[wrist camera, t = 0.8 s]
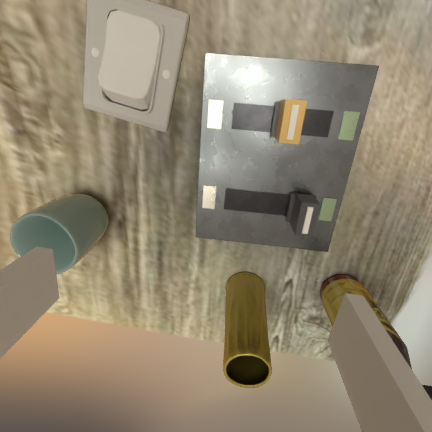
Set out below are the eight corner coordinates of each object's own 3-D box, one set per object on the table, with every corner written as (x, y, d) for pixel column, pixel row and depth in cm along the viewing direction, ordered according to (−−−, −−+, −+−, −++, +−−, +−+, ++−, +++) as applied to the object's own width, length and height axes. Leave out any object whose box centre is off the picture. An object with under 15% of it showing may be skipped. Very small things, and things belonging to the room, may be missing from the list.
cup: (126, 219, 39) (91, 253, 29) (91, 245, 41) (48, 285, 32) (88, 176, 37) (37, 199, 27) (53, 206, 39) (-5, 237, 30)
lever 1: (275, 99, 29) (280, 98, 25) (303, 102, 29) (313, 101, 25) (269, 138, 30) (274, 142, 26) (296, 140, 30) (304, 145, 26)
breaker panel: (207, 56, 30) (205, 52, 28) (370, 68, 29) (380, 65, 27) (197, 230, 38) (195, 237, 36) (323, 244, 37) (328, 252, 35)
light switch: (70, 109, 31) (73, -30, 25) (89, 107, 34) (96, -15, 29) (160, 137, 31) (183, 5, 25) (169, 132, 35) (191, 16, 29)
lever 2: (290, 191, 32) (297, 202, 28) (315, 193, 32) (325, 205, 28) (284, 220, 34) (290, 235, 30) (308, 223, 34) (317, 238, 30)
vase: (263, 270, 40) (274, 350, 27) (266, 302, 42) (277, 391, 29) (223, 272, 41) (215, 351, 28) (228, 304, 43) (222, 391, 30)
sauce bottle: (364, 300, 40) (466, 460, 22) (322, 309, 42) (386, 467, 23) (357, 265, 38) (465, 410, 20) (314, 275, 39) (377, 420, 21)
